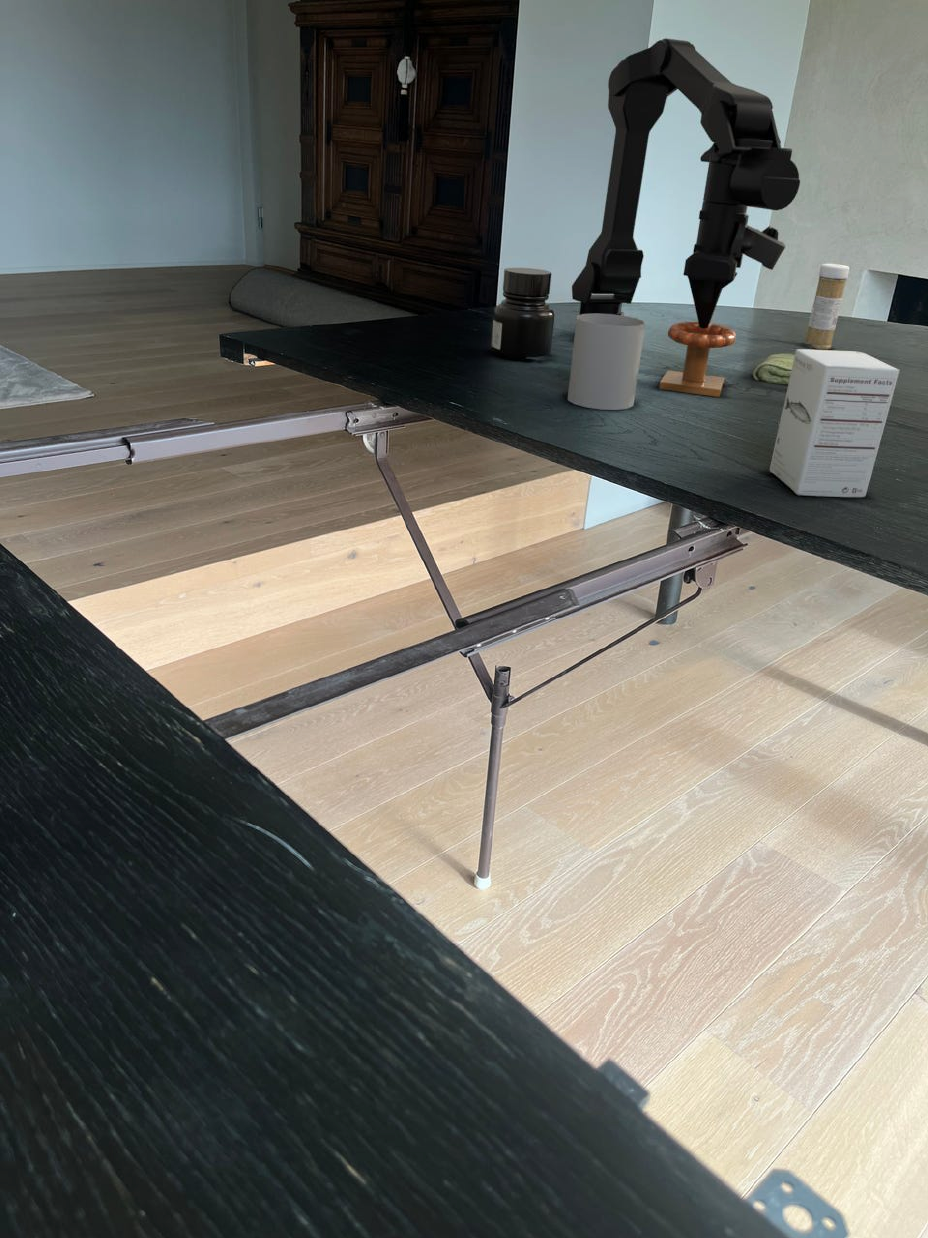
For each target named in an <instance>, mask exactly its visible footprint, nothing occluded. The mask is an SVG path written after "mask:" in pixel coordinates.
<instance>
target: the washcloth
mask: <svg viewBox="0 0 928 1238" xmlns="http://www.w3.org/2000/svg"><path fill="white" fill-rule="evenodd" d="M794 357H795V354H792V353H788V352H787V353H783V352H782V353H774V354H771V355H768V356H767V357H766V359H765V360H764V361H763V362H761V363H759V364H758V365H756V367H755V368H754V370H753V372H752V377H753V379H754V380H755V381H762V382H764V383H769V384H776V385H777V384H778V385H782V386H783V385H785V386H788V384H789V380H790V375H791V371H792V366H793V362H794Z"/></svg>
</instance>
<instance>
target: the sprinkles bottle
mask: <svg viewBox="0 0 928 1238" xmlns="http://www.w3.org/2000/svg"><path fill="white" fill-rule="evenodd" d="M849 273H850V267H849V266H848V265H844V264H838V263H822V264H821V265H820V268H819V272H818V282H817V287H816V290H815V296H814V300H813V304H812V308H811V311H810V316H809V321H808V324H807V325H808V328H807V331H806V336H805V341H804V342H803V344H804V345H805V344H806V345H811V349H812V350H831V348H832V343H833V338H834V332H835V330H836V326H837V323H838V318H839V314H840V310H841V305H842V301H843V295H844V289H845V285H846V282H847V279H848V277H849Z"/></svg>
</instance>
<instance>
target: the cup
mask: <svg viewBox="0 0 928 1238" xmlns="http://www.w3.org/2000/svg"><path fill="white" fill-rule="evenodd" d="M575 320H576V322H575V330H574V339H573V347H572V357H571V365H570V374H569V375H570V376H569V382H568V383H569V384H568V390H567V391H568V393H567V401H568V402H569V403H572V404H574V405H577V406H580V407H584V408H589V409H594V410H600V411H601V410H602V411H619V410H628V409H631V408H632V407H634V405H635V397H636V392H637V391H636V389H637V382H638V377H639V369H640V363H641V356H642V349H643V343H644V342H643V341H644V335H645V328H646V322H645V320H643V319H639V318H636V317H631V316H627V315H624V316H622V315H613V314H597V313H594V314H582V315H579V314H578V315H576V319H575Z"/></svg>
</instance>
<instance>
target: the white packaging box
mask: <svg viewBox="0 0 928 1238" xmlns="http://www.w3.org/2000/svg"><path fill="white" fill-rule="evenodd" d="M794 355H795V357H794V362H793V366H792V371H791V375H790V380H789V384H788V385H787V388H786V389H787V390H786V394H785V398H784V402H783V407H782V412H781V416H780V420H779V425H778V430H777V433H776V434H777V435H776V438H775V443H774V448H773V453H772V457H771V461H770V466H769V472H770V473H772V474H773V475H775V476H776V477H777V478H778V479H779V480H781V482H783V483H784V484H785V486H787V487H788V488H790V490H792V491H793V493H794V494H796V496H803V497H805V496H806V497H831V498H832V497H833V498H865V497H866V495H867V492H868V488H869V484H870V481H871V477H872V474H873V470H874V467H875V462H876V459H877V456H878V451H879V448H880V443H881V440H882V437H883V433H884V430H885V429H884V428H885V426H886V422H887V419H888V414H889V412H890V407H891V404H892V401H893V397H894V393H895V388H896V386H897V382H898V379H899V378H898V377H899V374H900V369H899V368H896V367H894V366H892V365H890V364H887V363H885V362H883V361H882V360H879V359H877V358H875V357H873V356H871V355H869V354H867V353H865V352H863V351H855V350H835V349H834V350H831V349H828V350H820V349H810V348H809V349H808V348H806V349H805V348H804V349H803V348H798V349H795V352H794Z"/></svg>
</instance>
